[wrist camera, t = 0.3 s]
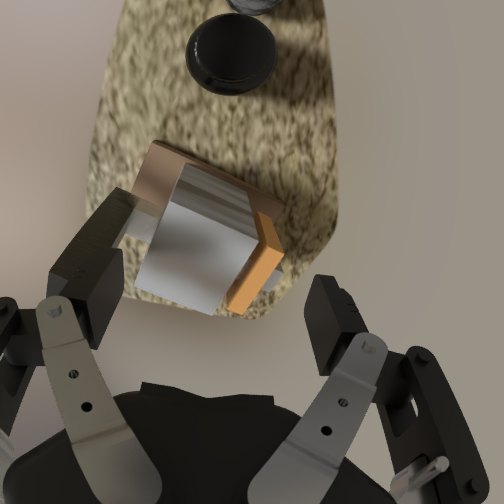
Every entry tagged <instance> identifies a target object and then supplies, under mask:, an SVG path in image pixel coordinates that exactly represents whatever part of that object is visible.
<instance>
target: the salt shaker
mask: <svg viewBox="0 0 504 504" xmlns="http://www.w3.org/2000/svg"><path fill="white" fill-rule="evenodd" d="M226 1H227V3H228V5H229V6H230V7H231V8H232V9H234V10H235V11H237V12H239V13H241V14H244V15H251V16H252V15H260V14H264V13H266V12H268V11H269V10H271V9H272V8H273V7H274V6H275V5H277V4H279V3H280V2H281V1H282V0H226Z"/></svg>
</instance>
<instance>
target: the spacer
mask: <svg viewBox="0 0 504 504" xmlns="http://www.w3.org/2000/svg"><path fill="white" fill-rule="evenodd" d="M253 219H254V223H255V227H256V230H257V234H258V238H259V242H258V244H257V245H256V247H255V248H256V254H255V255H254V257H253V258H252V260H251V262H250V263H249V265H248V266H247V268H246V269H245V271H244V272H243V274H242V276H241V277H240V279H239V280H236V279H235V280H234V282H233V283H232V285H231V286H230V288H229V289H228V291H227V293H226V299H227V310H230V311H232V312H235V313H238V314H241V315H242V314H243V313H244V312H245V310H246V309H247V307H248V306H249V305H250V303H251V302H252V300H253V299H254V298H255V296H256V295H257V293H258V292H259V290H260V289H261V288H262V286H263V285H264V283H265V282H266V280H267V279H268V278H269V276H270V275H271V273H272V272H273V270H274V269H275V268H276V266H277V265H278V263H279V262H280V260H281V259H282V257H283V256H284V255H285V254H284V251H283V249H282V246H281V243H280V241H279V238H278V235H277V233H276V230H275V227H274V225H273V222H272V219H271V217H269V216H267V215H265V214H262V213H260V212H257V213H256V215H255V217H254V218H253Z"/></svg>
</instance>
